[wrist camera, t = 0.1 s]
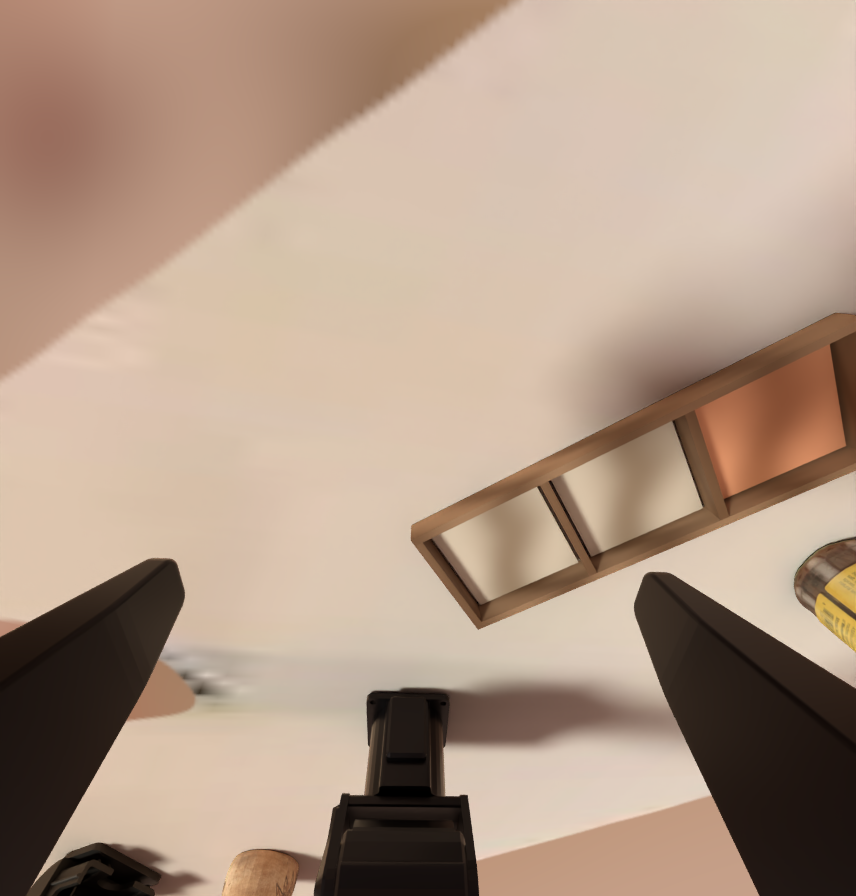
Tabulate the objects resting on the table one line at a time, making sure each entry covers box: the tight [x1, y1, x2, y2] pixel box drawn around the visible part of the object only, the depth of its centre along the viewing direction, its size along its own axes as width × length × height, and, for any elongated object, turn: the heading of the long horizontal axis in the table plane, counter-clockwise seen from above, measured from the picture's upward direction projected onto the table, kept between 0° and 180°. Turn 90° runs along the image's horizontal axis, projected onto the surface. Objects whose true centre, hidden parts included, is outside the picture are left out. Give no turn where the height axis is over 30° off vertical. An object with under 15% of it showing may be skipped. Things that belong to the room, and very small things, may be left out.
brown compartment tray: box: [411, 313, 856, 630], centre depth 23 cm, size 25×9×2 cm, turn 121°
